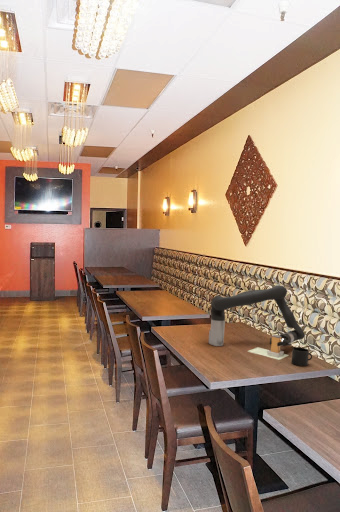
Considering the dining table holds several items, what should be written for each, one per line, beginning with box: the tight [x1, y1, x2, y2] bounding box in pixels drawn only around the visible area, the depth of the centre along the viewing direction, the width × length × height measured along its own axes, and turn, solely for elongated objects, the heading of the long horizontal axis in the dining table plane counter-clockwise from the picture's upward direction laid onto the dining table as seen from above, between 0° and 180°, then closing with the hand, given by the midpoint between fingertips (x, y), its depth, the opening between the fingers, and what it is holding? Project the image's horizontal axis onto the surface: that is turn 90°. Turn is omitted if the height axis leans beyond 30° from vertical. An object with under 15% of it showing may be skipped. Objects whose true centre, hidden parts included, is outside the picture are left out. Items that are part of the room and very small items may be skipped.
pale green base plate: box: [247, 346, 289, 361], centre depth 268 cm, size 22×14×4 cm, turn 50°
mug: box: [291, 346, 313, 367], centre depth 255 cm, size 9×12×9 cm
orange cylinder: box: [270, 334, 281, 353], centre depth 264 cm, size 4×4×11 cm
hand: (274, 343), depth 262 cm, fingers closed on orange cylinder, 4 cm apart
